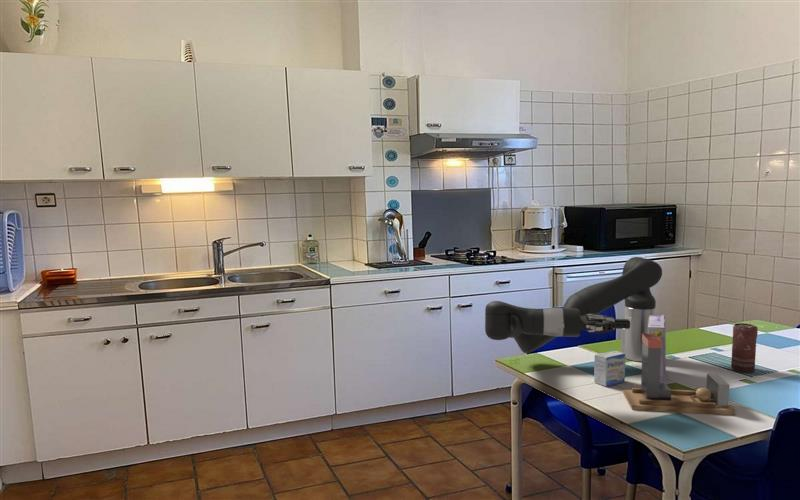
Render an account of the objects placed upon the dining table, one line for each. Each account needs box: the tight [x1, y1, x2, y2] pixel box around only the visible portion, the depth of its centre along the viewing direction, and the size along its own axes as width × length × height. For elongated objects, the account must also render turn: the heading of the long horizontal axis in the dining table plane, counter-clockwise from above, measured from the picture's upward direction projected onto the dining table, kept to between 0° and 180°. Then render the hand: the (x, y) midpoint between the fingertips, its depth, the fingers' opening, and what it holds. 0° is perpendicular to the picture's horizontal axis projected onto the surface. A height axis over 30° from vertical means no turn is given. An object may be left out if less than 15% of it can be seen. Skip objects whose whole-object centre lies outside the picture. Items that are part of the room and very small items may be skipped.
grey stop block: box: [706, 373, 730, 408], centre depth 142 cm, size 2×8×6 cm, turn 169°
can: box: [730, 322, 759, 374], centre depth 168 cm, size 6×6×14 cm
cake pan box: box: [648, 314, 667, 383], centre depth 163 cm, size 19×5×18 cm, turn 155°
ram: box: [640, 333, 672, 401], centre depth 144 cm, size 6×6×16 cm
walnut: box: [695, 386, 711, 401], centre depth 143 cm, size 4×4×4 cm
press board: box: [622, 387, 736, 416], centre depth 144 cm, size 24×11×2 cm, turn 79°
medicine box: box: [593, 350, 626, 388], centre depth 160 cm, size 8×4×9 cm, turn 117°
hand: (629, 324), depth 144 cm, fingers closed
